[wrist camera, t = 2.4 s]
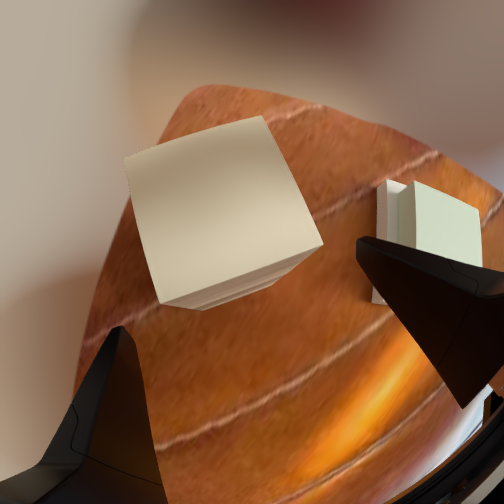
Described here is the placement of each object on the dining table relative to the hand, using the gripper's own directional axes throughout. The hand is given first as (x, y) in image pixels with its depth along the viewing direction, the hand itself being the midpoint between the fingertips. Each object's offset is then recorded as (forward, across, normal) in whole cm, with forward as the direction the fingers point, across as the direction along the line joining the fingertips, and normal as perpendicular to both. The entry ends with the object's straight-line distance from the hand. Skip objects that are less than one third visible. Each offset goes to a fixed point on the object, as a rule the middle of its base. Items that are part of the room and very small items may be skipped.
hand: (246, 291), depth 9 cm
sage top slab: (+4, -16, +8) cm, 18 cm away
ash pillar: (+9, 0, +5) cm, 11 cm away
